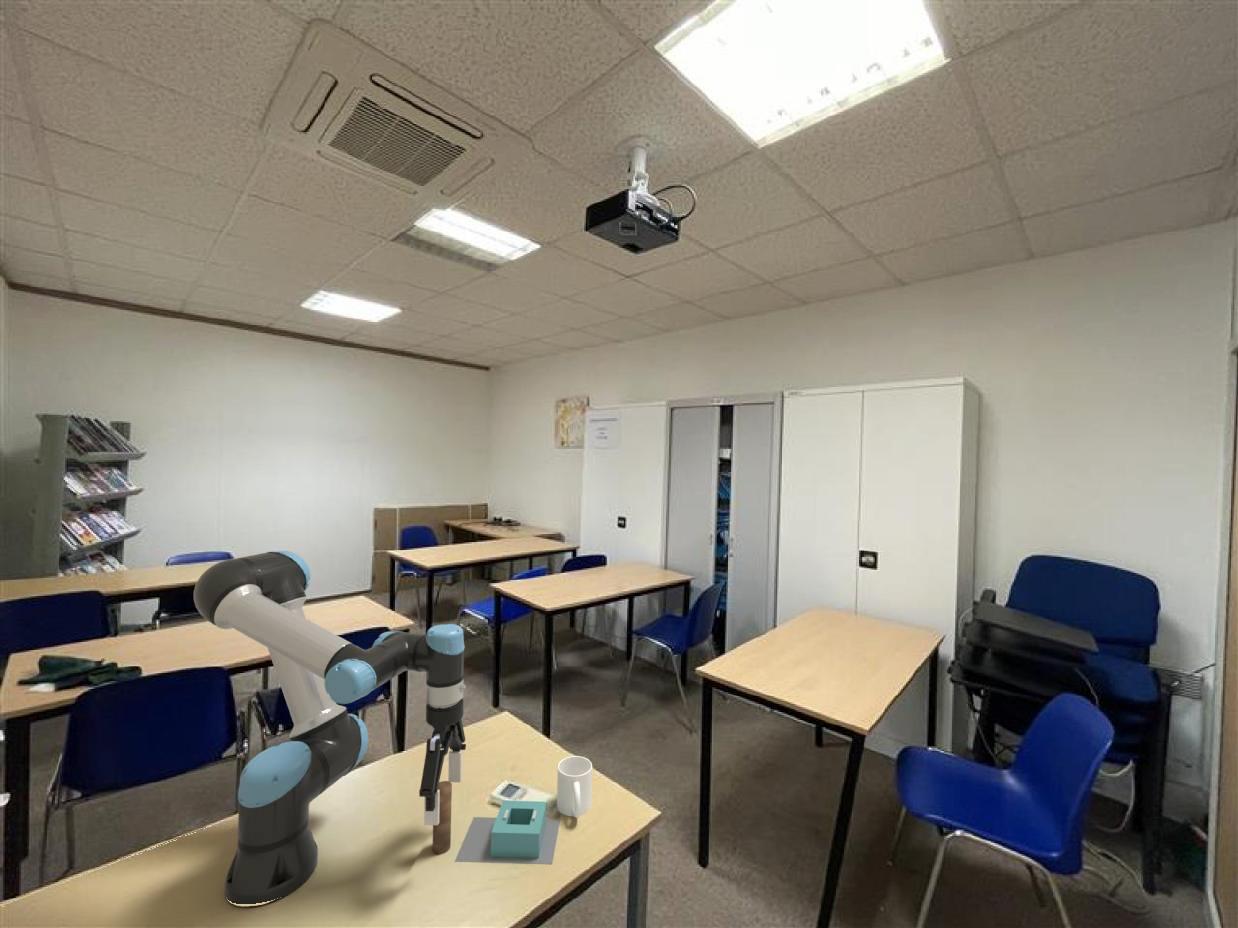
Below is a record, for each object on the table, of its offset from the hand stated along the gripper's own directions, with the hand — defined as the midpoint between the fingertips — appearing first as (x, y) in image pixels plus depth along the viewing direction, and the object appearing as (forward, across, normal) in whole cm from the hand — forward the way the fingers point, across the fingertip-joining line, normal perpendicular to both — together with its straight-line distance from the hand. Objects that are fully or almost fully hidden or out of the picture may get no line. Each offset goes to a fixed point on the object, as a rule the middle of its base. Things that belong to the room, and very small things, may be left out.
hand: (444, 801), depth 106 cm
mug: (+12, +13, -26) cm, 32 cm away
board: (+11, +3, -14) cm, 18 cm away
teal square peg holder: (+10, +3, -16) cm, 19 cm away
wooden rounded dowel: (+11, 0, 0) cm, 11 cm away
